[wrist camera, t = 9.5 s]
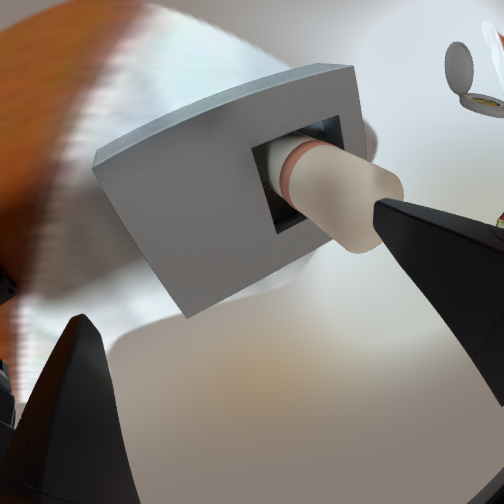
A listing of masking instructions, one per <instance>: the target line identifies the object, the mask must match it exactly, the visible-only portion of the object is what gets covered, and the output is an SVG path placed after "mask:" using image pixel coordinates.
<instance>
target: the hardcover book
mask: <svg viewBox="0 0 504 504" xmlns="http://www.w3.org/2000/svg"><path fill="white" fill-rule="evenodd" d="M496 227H500V228H503V229H504V212H503V214H502V215H501V216H500V217H499V218H498V219H497V224H496Z"/></svg>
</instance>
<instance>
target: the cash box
mask: <svg viewBox="0 0 504 504" xmlns="http://www.w3.org/2000/svg"><path fill="white" fill-rule="evenodd" d="M319 121H322V122H323V127H324V132H325V138H326V142H327V143H330V144H332V145H334V146H337V147H338V148H340V149H342V150H344V151H346V152H349V153H351V154H353V155H355V156H358V157H360V158H362V159H364V160H366V161H367V154H366V145H365V136H364V128H363V120H362V113H361V107H360V100H359V93H358V88H357V82H356V76H355V71H354V66H350V65H337V64H320V63H317V64H312V65H308V66H304V67H300V68H296V69H292V70H288V71H285V72H281V73H278V74H274V75H271V76H267V77H264V78H261V79H258V80H255V81H252V82H248V83H245V84H243V85H240V86H237V87H234V88H231V89H228V90H225V91H223V92H220V93H217V94H215V95H212V96H210V97H207V98H204V99H202V100H199V101H197V102H195V103H192V104H190V105H187V106H185V107H183V108H180V109H178V110H176V111H173V112H171V113H169V114H167V115H165V116H162V117H160V118H158V119H156V120H154V121H152V122H150V123H148V124H146V125H144V126H142V127H140V128H138V129H136V130H134V131H132V132H130V133H128V134H126V135H124V136H122V137H120V138H118V139H117V140H115V141H113V142H111V143H109V144H108V145H106V146H104V147H102V148H101V149H99V150H97V151H96V154H95V158H94V161H93V165H92V170H93V172H94V174H95V176H96V178H97V179H98V181H99V183H100V185H101V187H102V188H103V190H104V192H105V194H106V195H107V197H108V199H109V201H110V202H111V204H112V206H113V207H114V209H115V211H116V212H117V214H118V216H119V217H120V219H121V221H122V222H123V224H124V226H125V227H126V229H127V231H128V232H129V234H130V235H131V237H132V239H133V240H134V242H135V243H136V245H137V247H138V248H139V250H140V251H141V253H142V254H143V256H144V257H145V259H146V261H147V262H148V264H149V265H150V267H151V268H152V270H153V271H154V273H155V274H156V276H157V277H158V279H159V280H160V281H161V283H162V284H163V286H164V287H165V289H166V290H167V292H168V293H169V295H170V296H171V297H172V299H173V300H174V302H175V303H176V304H177V306H178V307H179V309H180V310H181V311H182V313H183V314H184V316H185V317H186V318H190V317H191V316H193V315H195V314H197V313H199V312H201V311H203V310H205V309H207V308H209V307H210V306H212V305H214V304H216V303H218V302H220V301H222V300H224V299H226V298H227V297H229V296H231V295H233V294H235V293H237V292H239V291H240V290H242V289H244V288H246V287H248V286H250V285H252V284H253V283H255V282H257V281H259V280H261V279H263V278H264V277H266V276H268V275H270V274H272V273H273V272H275V271H277V270H279V269H281V268H283V267H284V266H286V265H288V264H290V263H292V262H293V261H295V260H297V259H299V258H300V257H302V256H304V255H306V254H308V253H309V252H311V251H313V250H315V249H316V248H318V247H320V246H322V245H324V244H325V243H327V242H329V241H331V240H332V239H333V238H332V237H331V236H329V235H328V234H327V233H326V232H325V231H323V230H322V229H321V228H320V227H319V226H317V225H316V224H315V223H314V222H312V221H311V220H310V219H309V218H307V217H306V216H305V215H304V214H302V213H300V212H299V213H297V214H295V215H293V216H291V217H289V218H288V219H286V220H284V221H282V222H280V223H278V224H276V225H274V223H273V220H272V216H271V213H270V210H269V206H268V203H267V200H266V196H265V193H264V190H263V186H262V183H261V180H260V176H259V173H258V170H257V167H256V163H255V160H254V157H253V154H252V151H251V148H253V147H256V146H258V145H260V144H263V143H265V142H268V141H270V140H273V139H275V138H277V137H280V136H282V135H285V134H287V133H290V132H293V131H295V130H298V129H300V128H303V127H306V126H308V125H311V124H314V123H317V122H319Z"/></svg>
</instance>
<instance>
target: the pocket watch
mask: <svg viewBox="0 0 504 504" xmlns="http://www.w3.org/2000/svg"><path fill="white" fill-rule="evenodd" d="M445 73H446V79H447V82H448V84H449V87H450V88H451V90H452V91H453V92H454V93H456V94H457V95H459V97H460V103H461V105H462V106H463V107H465V108H467V109H469V110H471V111H474V112H477V113H480V114H483V115H487V116H491V117H496V118H504V102H503V101H501V100H498V99H496V98H493V97H490V96H486V95H482V94H474V93H468V91H469V90H470V87H471V85H472V81H473V74H474V70H473V61H472V57H471V54H470V52H469V50H468V48H467V47H466V46H465V45H464V44H463V43H461V42H453V43H452V44H451V45H450V46H449V48H448V50H447V52H446V57H445Z"/></svg>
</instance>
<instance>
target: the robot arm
mask: <svg viewBox="0 0 504 504" xmlns="http://www.w3.org/2000/svg"><path fill="white" fill-rule="evenodd" d="M373 227H374V230H375V231H376V233H377V234H378V236H379V237H380V238H381V240H382V241H383V242H384V244H385V245H386V247H387V248H388V249H389V251H390V252H391V254H392V255H393V256H394V258H395V259H396V261H397V262H398V263H399V265H400V266H401V267H402V269H403V270H404V271H405V272H406V273H407V275H408V276H409V277H410V278H411V279H412V281H413V282H414V283H415V284H416V286H417V287H418V288H419V289H420V291H421V292H422V293H423V294H424V296H425V297H426V298H427V299H428V301H429V302H430V303H431V304H432V306H433V307H434V308H435V309H436V311H437V312H438V314H439V315H440V316H441V318H442V319H443V320H444V322H445V323H446V324H447V326H448V327H449V328H450V330H451V331H452V332H453V334H454V335H455V336H456V338H457V339H458V341H459V342H460V344H461V345H462V346H463V348H464V349H465V351H466V352H467V354H468V355H469V357H470V358H471V359H472V361H473V363H474V364H475V366H476V367H477V369H478V370H479V372H480V374H481V375H482V377H483V378H484V380H485V381H486V383H487V384H488V386H489V388H490V389H491V391H492V393H493V394H494V396H495V398H496V399H497V401H498V403H499V404H500V405H501V406H502V407H503V406H504V229H503V228H500V227H496V226H493V225H490V224H485V223H482V222H480V221H476V220H472V219H469V218H466V217H462V216H458V215H455V214H451V213H448V212H444V211H440V210H436V209H432V208H428V207H424V206H420V205H416V204H412V203H408V202H403V201H399V200H395V199H390V198H383V199H380V200H377V201H376V202H375V203H374V208H373ZM9 288H12V289H13V290H10V289H9ZM16 292H17V286H16V284H15V283H14V282H13V281H12V280H11V279H10V277H9V276H8V275H7V274H6V273H5V271H4V270H3V268H2V267H1V266H0V306H1V305H2V304H3V303H5V302H6V301H8V300H9V299H10V298H12V297H13V296H15V295H16ZM15 413H16V412H15V398H14V395H13V394H12V390H11V385H10V379H9V373H8V366H7V364H6V363H5V362H4V361H3V360H2V359H0V504H141V503H140V500H139V497H138V493H137V490H136V487H135V484H134V480H133V477H132V473H131V469H130V466H129V462H128V458H127V454H126V450H125V446H124V442H123V437H122V433H121V428H120V423H119V418H118V412H117V407H116V401H115V395H114V390H113V385H112V380H111V376H110V372H109V368H108V364H107V359H106V355H105V350H104V346H103V341H102V337H101V335H100V333H99V331H98V330H97V328H96V327H95V326H94V325H93V323H92V322H91V321H90V320H89V318H88V317H87V316H86V315H85V314H79V315H76V316H74V317H72V318H71V319H70V320H69V322H68V324H67V326H66V327H65V329H64V331H63V333H62V334H61V336H60V338H59V340H58V342H57V343H56V345H55V347H54V349H53V351H52V353H51V355H50V357H49V358H48V360H47V362H46V364H45V366H44V368H43V370H42V372H41V374H40V376H39V378H38V380H37V382H36V384H35V387H34V389H33V391H32V393H31V395H30V397H29V399H28V402H27V404H26V406H25V408H24V411H23V413H22V415H21V418H22V419H20V420H19V422H18V426H17V427H16V430H15V429H14V424H15ZM467 504H504V467H503V469H502V470H501V471H500V472H499V473H498V474H497V475H496V476H495V477H494V478H493V479H492V480H491V482H489V483H488V484H487V485H486V486H485V487H484V488H483V489H482V490H481V491H480V492H479V493H478V494H477V495H476V496H475V497H474V498H473V499H471V500H470V501H469V502H468V503H467Z"/></svg>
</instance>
